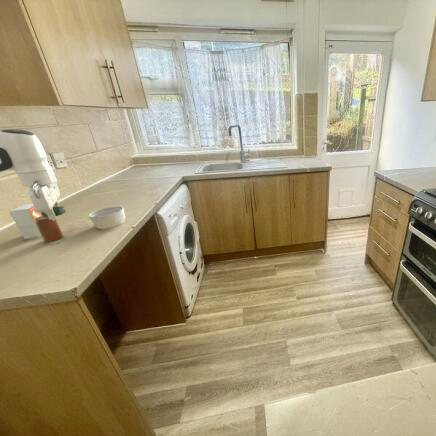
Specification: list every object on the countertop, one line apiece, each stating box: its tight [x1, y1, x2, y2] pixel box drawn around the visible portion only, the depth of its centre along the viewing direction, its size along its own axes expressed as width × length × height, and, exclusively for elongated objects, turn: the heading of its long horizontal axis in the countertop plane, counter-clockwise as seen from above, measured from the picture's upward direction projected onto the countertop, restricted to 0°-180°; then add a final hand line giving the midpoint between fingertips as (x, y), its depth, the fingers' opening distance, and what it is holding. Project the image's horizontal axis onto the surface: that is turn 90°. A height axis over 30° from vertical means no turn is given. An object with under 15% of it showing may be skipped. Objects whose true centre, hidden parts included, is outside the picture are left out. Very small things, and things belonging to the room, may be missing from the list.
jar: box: [35, 216, 65, 243], centre depth 99 cm, size 6×6×11 cm
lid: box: [41, 205, 66, 218], centre depth 90 cm, size 6×6×2 cm
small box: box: [9, 203, 42, 240], centre depth 104 cm, size 8×6×13 cm
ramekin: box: [88, 205, 127, 230], centre depth 113 cm, size 13×13×7 cm
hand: (55, 215), depth 90 cm, fingers closed on lid, 6 cm apart
